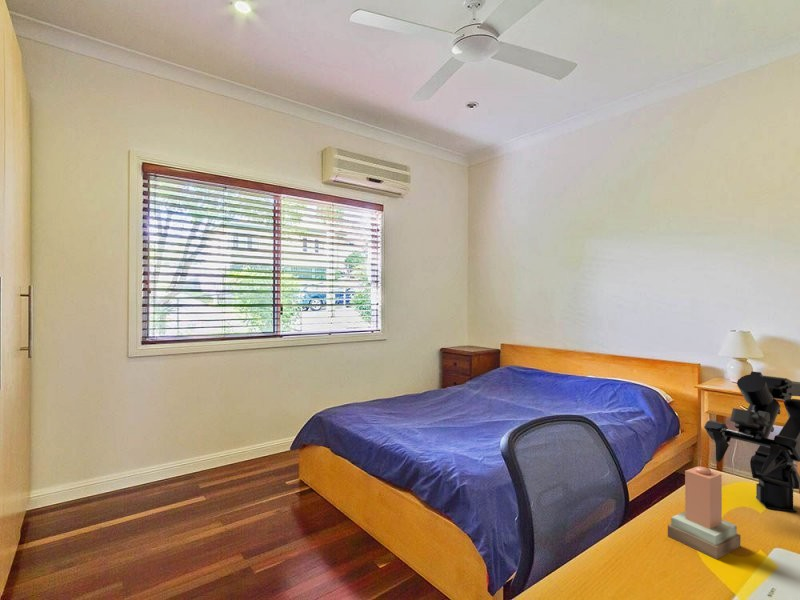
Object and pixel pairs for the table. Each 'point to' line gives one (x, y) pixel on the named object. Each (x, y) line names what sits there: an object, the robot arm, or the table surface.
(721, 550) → the base brick
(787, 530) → the table surface
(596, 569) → the table surface
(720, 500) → the top brick
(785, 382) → the robot arm
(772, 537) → the table surface
